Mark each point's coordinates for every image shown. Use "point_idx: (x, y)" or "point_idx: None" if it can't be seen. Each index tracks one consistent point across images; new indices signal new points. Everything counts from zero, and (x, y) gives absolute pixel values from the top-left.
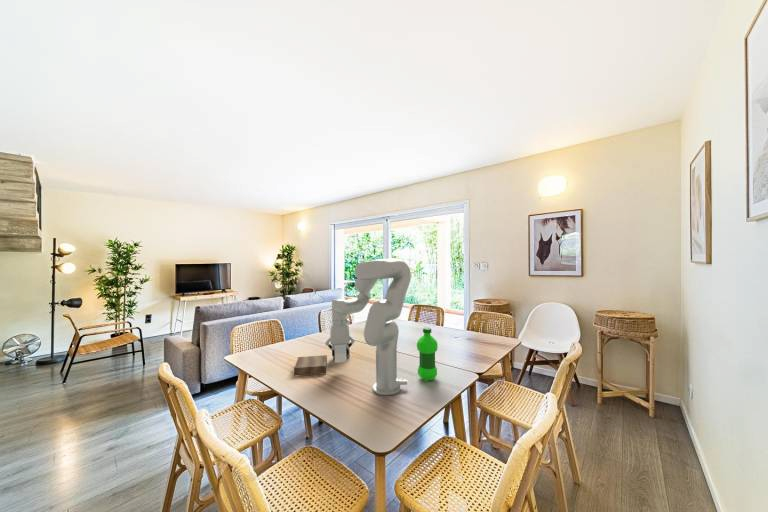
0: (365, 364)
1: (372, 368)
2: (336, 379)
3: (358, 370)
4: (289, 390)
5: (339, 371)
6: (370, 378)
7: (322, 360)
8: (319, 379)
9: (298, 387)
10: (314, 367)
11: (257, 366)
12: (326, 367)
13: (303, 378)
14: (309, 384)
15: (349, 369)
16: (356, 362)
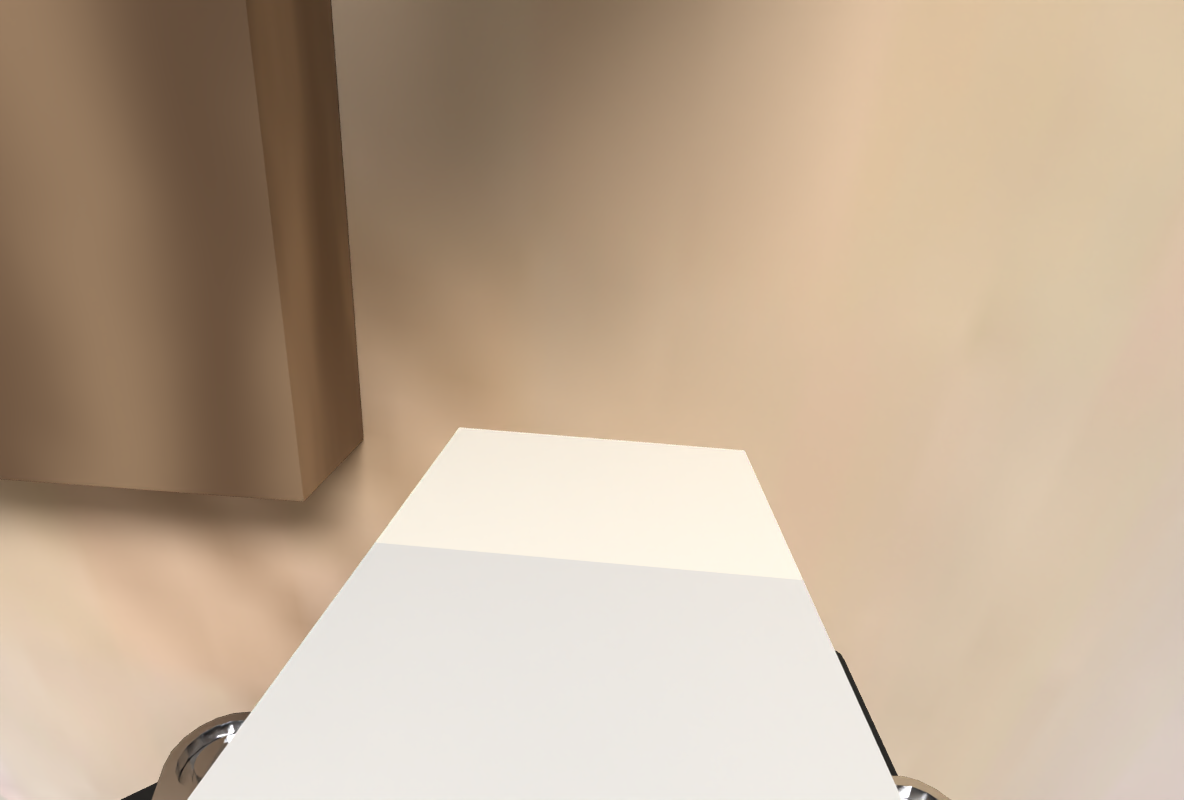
0: (1130, 216)
1: (1157, 438)
2: None
3: (895, 457)
4: (13, 760)
5: (580, 417)
6: (962, 730)
7: (167, 171)
8: (294, 602)
9: (87, 726)
10: (96, 477)
11: None
12: (340, 214)
13: (59, 522)
14: (196, 692)
15: (758, 379)
16: (996, 38)
